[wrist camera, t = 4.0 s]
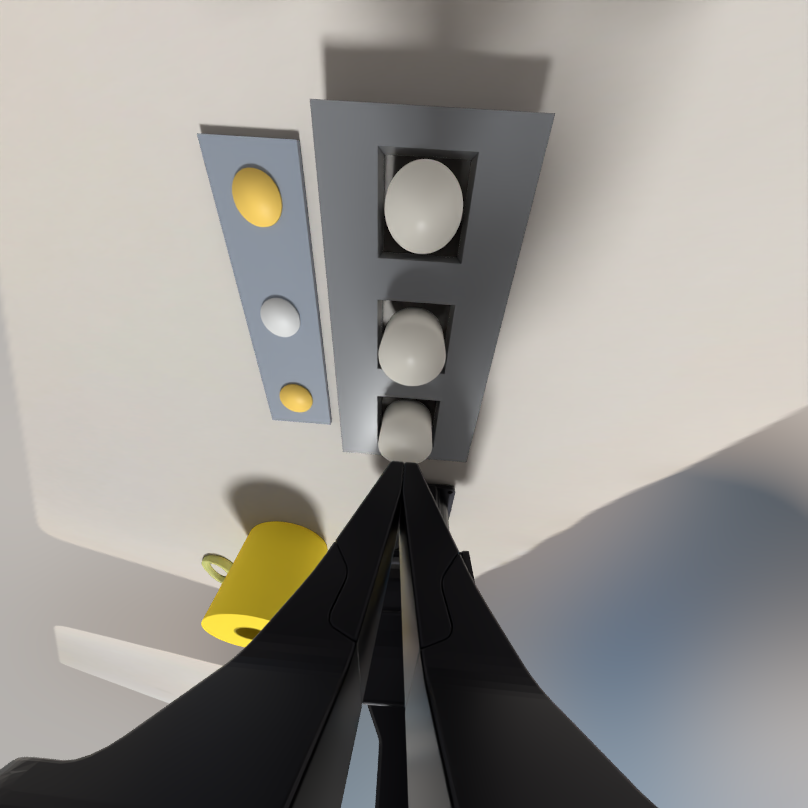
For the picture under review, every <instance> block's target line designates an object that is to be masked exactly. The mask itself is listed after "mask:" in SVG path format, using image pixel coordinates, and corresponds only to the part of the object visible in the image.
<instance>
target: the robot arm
mask: <svg viewBox="0 0 808 808" xmlns="http://www.w3.org/2000/svg"><path fill="white" fill-rule="evenodd" d="M403 471H404V473H403ZM454 495H455V488H454V487H453V486H447V485H435V484H427V483H426V481H425V479H424V477H423V474H422V472H421V470H420V468H419V466H418V464H417V463H414V462H405V463H404V462H402V461H391V462H390V464H389V465H388V467H387V468H386V470H385V471H384V472H383V474H382V475H381V477H380V478H379V479H378V481H377V482H376V484H375V485H374V487H373V488H372V489H371V491H370V492H369V494H368V495H367V496H366V498H365V499H364V501H363V502H362V504H361V505H360V506H359V508H358V509H357V511H356V512H355V513H354V515H353V516H352V518H351V519H350V521H349V522H348V523H347V525H346V526H345V528H344V529H343V530H342V532H341V533H340V535H339V536H338V538H337V539H336V542H334V543H333V544H332V546H331V547H330V549H329V550H328V551H327V553H326V554H325V556H324V557H323V558H322V560H321V561H320V562H319V564H318V565H317V566H316V568H315V569H314V570H313V571H312V573H311V574H310V575H309V576H308V577H307V579H306V580H305V581H304V582H303V583H302V584H301V586H300V587H299V588H298V589H297V590H296V591H295V593H294V594H293V595H292V596H291V597H290V598H289V599H288V600H287V602H286V603H285V604H284V605H283V606H282V607H281V608H280V610H279V611H278V612H277V613H276V614H275V615H274V616H273V617H272V619H271V620H270V621H269V622H268V623H267V624H266V625H265V627H264V628H263V629H262V630H261V631H260V632H259V633H258V634H257V635H256V637H255V638H254V639H253V640H252V641H251V642H250V643H249V644H248V645H247V646H246V647H245V648H244V649H243V650H242V651H241V652H240V653H239V654H237V655H236V656H235V657H234V658H233V659H231V660H230V661H229V662H228V663H227V664H225V665H224V666H222V667H221V668H220V669H218V670H217V671H215V672H214V673H212V674H211V675H210V676H208V677H207V678H205V679H204V680H203V681H201V682H200V683H198V684H197V685H196V686H194V687H193V688H191V689H190V690H188V691H187V692H186V693H184V694H183V695H181V696H180V697H179V698H177V699H176V700H174V701H173V702H172V703H170V704H169V705H167V706H166V707H164V708H163V709H162V710H160V711H159V712H157V713H156V714H155V715H153V716H152V717H150V718H149V719H148V720H146V721H145V722H143V723H142V724H140V725H139V726H138V727H136V728H135V729H133V730H132V731H131V732H129V733H128V734H126V735H125V736H123V737H122V738H120V739H119V740H117V741H115V742H114V743H112V744H111V745H109V746H107V747H105V748H103V749H101V750H99V751H97V752H95V753H93V754H91V755H88V756H85V757H82V758H78V759H75V760H56V759H46V758H37V757H21V758H17V759H15V760H13V761H11V762H10V763H8V764H7V765H6V766H4V767H3V768H2V769H0V808H341V803H342V798H343V794H344V789H345V784H346V779H347V775H348V769H349V765H350V760H351V755H352V751H353V746H354V740H355V736H356V731H357V727H358V722H359V717H360V712H361V708H362V707H361V706H362V705H361V704H362V703H363V704H367V705H368V708H369V711H370V714H371V717H372V720H373V723H374V726H375V729H376V732H377V735H378V738H379V756H378V772H377V787H376V803H375V804H376V805H375V808H658V807H656V806H655V805H654V804H653V803H652V802H651V801H650V800H649V799H648V798H647V797H646V796H645V795H643V794H642V793H641V792H640V791H639V790H638V789H637V788H636V787H635V786H634V785H633V784H632V783H631V781H630V780H629V779H627V777H626V776H625V775H624V774H623V773H622V772H621V771H620V770H619V769H618V768H617V767H616V766H615V765H614V764H613V763H612V762H611V761H610V760H609V759H608V758H607V757H606V756H605V755H604V754H603V753H602V752H601V751H600V750H599V749H598V748H597V747H596V746H595V745H594V744H593V742H592V741H591V740H590V739H588V738H587V736H586V735H585V734H584V733H583V732H582V731H581V730H580V729H579V728H578V727H577V726H576V725H575V724H574V723H573V722H572V721H571V720H570V719H569V718H568V717H567V716H566V715H565V714H564V713H563V712H562V711H561V710H560V709H559V708H558V707H557V706H556V705H555V703H553V702H552V700H550V698H549V697H548V696H547V695H546V694H545V693H544V692H543V690H542V689H541V688H540V687H539V685H538V684H537V683H536V681H535V680H534V679H533V678H532V676H531V675H530V673H529V672H528V670H527V669H526V667H525V666H524V664H523V663H522V661H521V659H520V658H519V656H518V655H517V653H516V651H515V650H514V648H513V646H512V645H511V643H510V642H509V640H508V638H507V637H506V635H505V633H504V632H503V630H502V629H501V627H500V625H499V624H498V622H497V620H496V619H495V617H494V616H493V614H492V612H491V611H490V609H489V607H488V606H487V604H486V602H485V601H484V599H483V597H482V595H481V594H480V592H479V590H478V588H477V587H476V585H475V581H474V576H473V571H472V566H471V560H470V555H469V551H462V552H459V550H458V548H457V546H456V544H455V542H454V540H453V538H452V536H451V534H450V531H449V521H448V520H449V516H450V512H451V508H452V504H453V499H454Z"/></svg>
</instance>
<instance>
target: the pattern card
mask: <svg viewBox="0 0 808 808" xmlns="http://www.w3.org/2000/svg"><path fill="white" fill-rule="evenodd" d="M197 136H198V140H199V144H200V148H201V151H202V155H203V159H204V163H205V166H206V170H207V174H208V178H209V182H210V185H211V189H212V193H213V197H214V200H215V204H216V208H217V212H218V216H219V219H220V223H221V227H222V231H223V234H224V238H225V242H226V246H227V250H228V253H229V257H230V261H231V265H232V268H233V272H234V276H235V280H236V284H237V287H238V291H239V295H240V299H241V302H242V306H243V310H244V314H245V318H246V321H247V325H248V329H249V333H250V336H251V340H252V344H253V348H254V351H255V355H256V359H257V363H258V367H259V370H260V374H261V378H262V382H263V385H264V389H265V393H266V397H267V401H268V404H269V408H270V412H271V416H272V419H273V420H281V421H293V422H305V423H317V424H330V425H331V422H332V419H331V411H330V402H329V393H328V384H327V376H326V367H325V358H324V350H323V341H322V332H321V324H320V315H319V306H318V297H317V289H316V280H315V271H314V263H313V254H312V245H311V237H310V228H309V219H308V210H307V202H306V193H305V184H304V176H303V167H302V158H301V150H300V141H298V140H294V139H278V138H262V137H246V136H230V135H214V134H198V133H197Z"/></svg>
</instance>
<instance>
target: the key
mask: <svg viewBox="0 0 808 808" xmlns="http://www.w3.org/2000/svg"><path fill="white" fill-rule="evenodd" d="M210 563H212V564H215V565H217V566H219V567H221V568H222V569H224V570H225V571H226V572H227V573H228V572H229V570H230V568H231V566H232V565H233V563H232V562H230V561H229V560H227V559H225V558H223V557H220V556H215V555H208V556H205V557H204V558H203V560H202V566H203V567H204V569H205V570H206V571H207V572H208V573H209V575H210V576H212V577H213V578H214V579H215V580H217V581H218V582H220V583H223V581H224V579H225V578H226V577H224V576H222V575H220V574H218V573H217V572H216V571H215V570H214V569H213V568H212V567H211V565H210Z"/></svg>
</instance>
